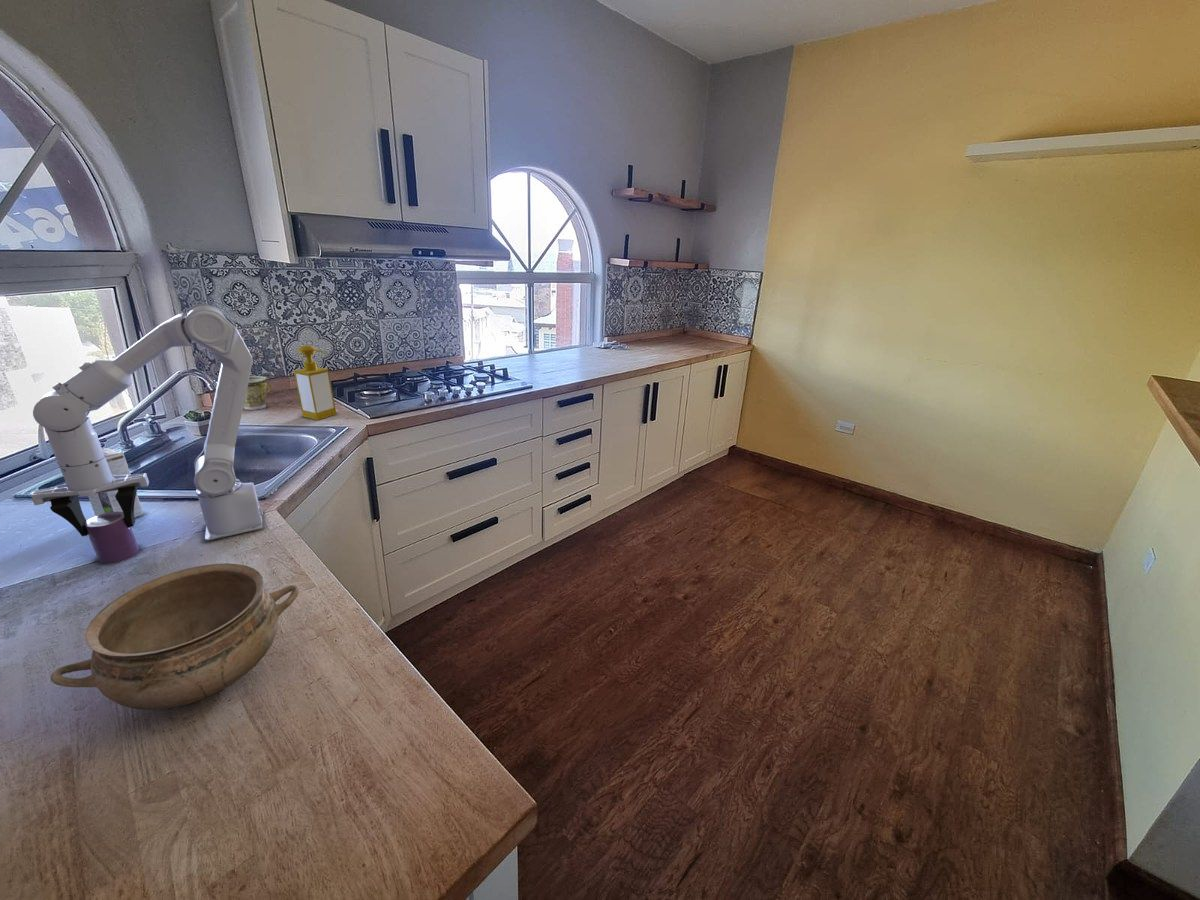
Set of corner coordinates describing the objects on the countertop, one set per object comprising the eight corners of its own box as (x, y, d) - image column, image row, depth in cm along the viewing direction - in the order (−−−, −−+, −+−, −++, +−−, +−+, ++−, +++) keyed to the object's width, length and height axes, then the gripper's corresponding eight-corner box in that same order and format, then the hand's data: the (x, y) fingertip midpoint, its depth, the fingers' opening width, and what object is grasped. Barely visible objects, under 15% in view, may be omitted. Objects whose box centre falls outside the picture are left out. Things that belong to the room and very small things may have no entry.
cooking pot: (293, 602, 82) (277, 538, 77) (328, 671, 69) (311, 599, 64) (80, 682, 66) (44, 608, 61) (74, 791, 53) (28, 707, 49)
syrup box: (95, 521, 103) (70, 456, 98) (129, 508, 108) (107, 446, 103) (112, 527, 101) (87, 461, 96) (146, 514, 106) (124, 451, 101)
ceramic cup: (230, 410, 171) (223, 381, 168) (254, 402, 180) (247, 375, 177) (264, 413, 169) (257, 384, 166) (286, 405, 179) (280, 377, 175)
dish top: (132, 520, 94) (128, 508, 93) (127, 533, 90) (123, 521, 89) (92, 528, 91) (87, 516, 91) (85, 542, 87) (80, 530, 86)
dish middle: (136, 531, 95) (132, 520, 94) (132, 545, 91) (127, 533, 90) (97, 539, 92) (92, 528, 91) (90, 554, 88) (85, 542, 87)
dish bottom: (141, 543, 96) (136, 531, 95) (136, 557, 92) (132, 545, 91) (101, 551, 93) (97, 539, 92) (95, 566, 89) (90, 554, 88)
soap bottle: (328, 422, 163) (315, 350, 154) (302, 416, 168) (288, 346, 159) (347, 416, 169) (335, 346, 160) (322, 410, 174) (309, 342, 165)
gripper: (12, 478, 79) (45, 551, 84) (134, 460, 86) (157, 528, 91) (27, 462, 84) (57, 532, 89) (140, 447, 92) (162, 512, 97)
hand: (109, 529), depth 91 cm, fingers closed on dish top, 5 cm apart
